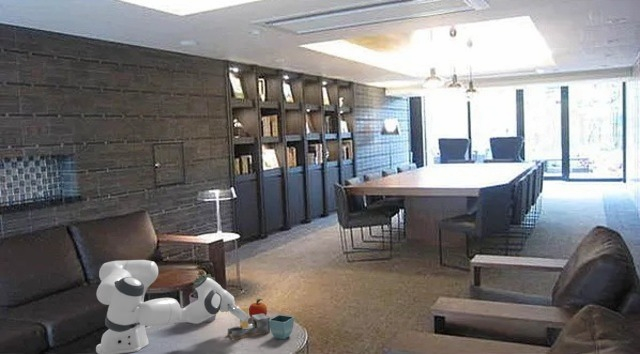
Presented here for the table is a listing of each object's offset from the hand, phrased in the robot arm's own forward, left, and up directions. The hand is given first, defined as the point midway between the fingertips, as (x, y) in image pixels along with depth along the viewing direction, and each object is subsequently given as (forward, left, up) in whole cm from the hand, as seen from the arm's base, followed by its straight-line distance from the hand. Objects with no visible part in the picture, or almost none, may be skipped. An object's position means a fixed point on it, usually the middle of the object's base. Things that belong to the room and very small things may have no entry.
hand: (245, 319), depth 264 cm
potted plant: (-9, +31, -8) cm, 33 cm away
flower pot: (+13, -13, -8) cm, 20 cm away
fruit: (+14, +18, -8) cm, 24 cm away
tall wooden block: (+3, 0, -6) cm, 7 cm away
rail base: (+1, 0, -7) cm, 7 cm away
